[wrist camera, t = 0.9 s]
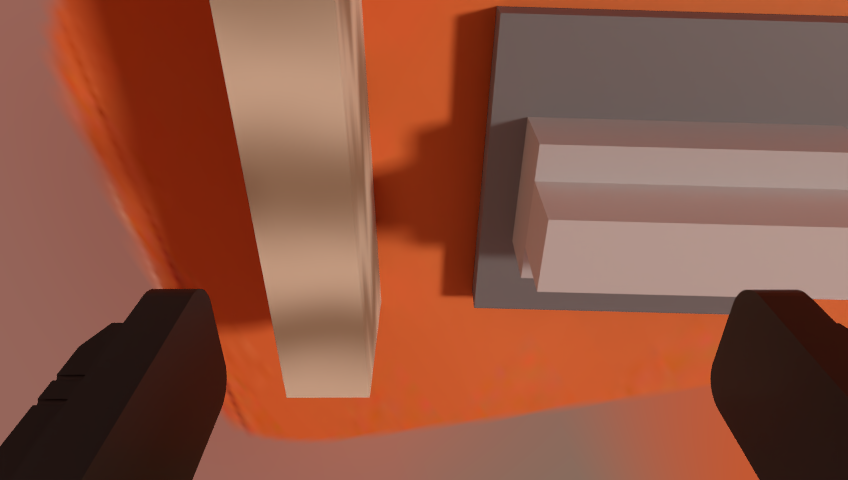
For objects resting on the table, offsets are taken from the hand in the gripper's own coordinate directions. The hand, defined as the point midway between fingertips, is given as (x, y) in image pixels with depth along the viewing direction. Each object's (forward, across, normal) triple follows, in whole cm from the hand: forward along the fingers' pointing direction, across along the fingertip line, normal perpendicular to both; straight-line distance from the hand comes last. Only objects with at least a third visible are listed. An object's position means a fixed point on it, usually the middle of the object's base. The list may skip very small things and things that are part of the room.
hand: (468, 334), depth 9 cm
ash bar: (+18, +5, +2) cm, 19 cm away
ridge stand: (+17, -10, +5) cm, 21 cm away
